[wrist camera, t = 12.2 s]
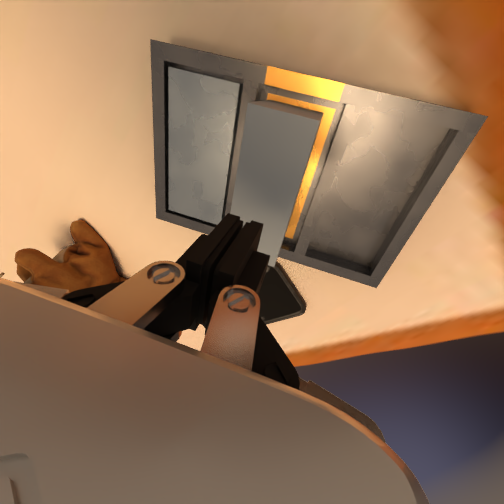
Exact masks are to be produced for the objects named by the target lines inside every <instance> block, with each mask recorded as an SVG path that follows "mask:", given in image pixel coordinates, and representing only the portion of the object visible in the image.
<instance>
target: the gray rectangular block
mask: <svg viewBox="0 0 504 504" xmlns="http://www.w3.org/2000/svg"><path fill="white" fill-rule="evenodd" d="M323 114H324V113H323V112H318V111H314V110H310V109H306V108H302V107H298V106H294V105H290V104H286V103H282V102H278V101H274V100H264V101H256V102H249V103H248V105H247V111H246V117H245V124H244V130H243V136H242V143H241V149H240V155H239V161H238V168H237V174H236V180H235V187H234V193H233V199H232V206H231V212H230V214H233V215H236V216H240V220H242V221H243V226H244V225H245V223H246V222H249V223H250V222H251V221H252V220H253V221H256V222H259V223H263V229H262V233H261V238H260V242H259V246H258V250H257V251H258V252H261V253H264V254H267V255H270V259H269V263H268V265H269V266H272V267H274V266H275V263H276V260H277V257H278V255H279V252H280V249H281V246H282V243H283V240H284V237H285V234H286V231H287V228H288V225H289V221H290V218H291V215H292V212H293V209H294V206H295V202H296V199H297V196H298V193H299V190H300V187H301V183H302V180H303V177H304V174H305V171H306V168H307V164H308V161H309V158H310V155H311V152H312V149H313V145H314V142H315V139H316V136H317V133H318V129H319V126H320V123H321V120H322V117H323Z"/></svg>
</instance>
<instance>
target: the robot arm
mask: <svg viewBox="0 0 504 504" xmlns="http://www.w3.org/2000/svg"><path fill="white" fill-rule="evenodd" d="M262 229H263V223H259V222H256V221H253V220H252V221H251V222H250V223H249V222H246V223H245V225H244V226H243V221H242V220H240V216H236V215H233V214H230V213H228V214H227V215H226V216H225V217H224V218H223V219H222V220H221V221H220V223H219V224H218V225H217V226H216V227H215V228H214V229H213V231H212V232H211V233H210V234H209V235H205V234H202V235H201V236H200V237H199V238H198V239H197V240H196V241H195V242H194V243H193V244H192V245H191V246H190V247H189V248H188V250H187V251H186V252H185V253H184V254H183V255H182V256H181V257H180V258H179V259H178V260H177V261H176V262H172V261H158V262H154V263H152V264H150V265H148V266H146V267H145V268H143V269H142V270H140V271H139V272H138V273H136V274H135V275H133V276H132V277H130V278H129V279H128V280H126V281H122V282H116V283H111V284H106V285H100V286H95V287H89V288H84V289H79V290H76V291H73V292H71V293H69V290H66V289H60V288H53V287H47V286H40V285H33V284H27V283H20V282H13V281H10V280H6V279H3V278H0V504H429V501H428V499H427V497H426V495H425V493H424V491H423V489H422V487H421V485H420V484H419V482H418V480H417V479H416V477H415V476H414V474H413V473H412V471H411V470H410V469H409V468H408V466H407V465H406V464H405V463H404V461H403V460H402V459H401V458H400V457H399V456H398V455H397V454H396V453H395V452H394V451H393V450H392V449H391V448H390V447H389V446H388V445H387V444H386V443H385V439H384V437H383V435H382V432H381V430H380V429H379V428H378V426H377V425H376V423H375V422H374V421H372V419H370V418H369V417H368V416H367V415H365V414H363V413H362V412H360V411H359V410H357V409H355V408H354V407H352V406H351V405H349V404H348V403H346V402H344V401H343V400H341V399H339V398H337V397H336V396H335V395H333V394H331V393H330V392H328V391H327V390H325V389H323V388H322V387H320V386H319V385H317V384H315V383H314V382H312V381H310V380H309V381H308V382H306V381H304V380H303V379H301V378H300V377H299V376H298V374H297V371H296V369H295V368H294V366H293V365H292V363H291V362H290V360H289V359H288V357H287V356H286V354H285V353H284V351H283V350H282V348H281V347H280V345H279V344H278V342H277V341H276V339H275V338H274V336H273V335H272V333H271V332H270V330H269V329H268V327H267V326H266V324H265V323H264V321H263V320H262V319H261V317H260V316H259V310H260V299H259V297H258V293H259V290H260V288H261V285H262V282H263V279H264V276H265V273H266V270H267V266H268V263H269V259H270V255H267V254H264V253H261V252H258V251H257V250H258V246H259V242H260V238H261V233H262ZM206 320H207V322H206ZM205 322H206V329H205V339H204V342H203V345H202V348H201V351H198V350H195V349H193V348H190V347H188V346H185V345H182V344H180V343H177V342H176V341H177V340H178V339H179V337H180V336H181V334H182V331H183V330H186V329H192V330H194V331H196V329H197V327H198V325H199V324H202V325H203V324H204V323H205Z"/></svg>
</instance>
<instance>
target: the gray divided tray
mask: <svg viewBox="0 0 504 504" xmlns="http://www.w3.org/2000/svg"><path fill="white" fill-rule="evenodd" d="M150 40H151V70H152V101H153V131H154V162H155V192H156V218H158V219H161V220H164V221H167V222H170V223H173V224H177V225H180V226H183V227H186V228H189V229H192V230H196V231H199V232H202V233H205V234H208V235H209V234H210V233H211V232H212V231H213V229H214V228H215V227H216V226H217V225H218V224H219V223H220V221H221V220H222V219H223V218H224V217H225V216H226V215H227V214H228V213H230V212H231V206H232V199H233V193H234V187H235V180H236V174H237V168H238V161H239V155H240V149H241V143H242V136H243V130H244V124H245V117H246V111H247V105H248V103H249V102H256V101H264V100H274V101H278V102H282V103H286V104H290V105H294V106H298V107H302V108H306V109H310V110H314V111H318V112H323V113H324V114H323V117H322V120H321V123H320V126H319V129H318V133H317V136H316V139H315V142H314V145H313V149H312V152H311V155H310V158H309V161H308V164H307V168H306V171H305V174H304V177H303V180H302V183H301V187H300V190H299V193H298V196H297V199H296V202H295V206H294V209H293V212H292V215H291V218H290V221H289V225H288V228H287V231H286V234H285V237H284V240H283V243H282V246H281V249H280V252H279V255H278V257H281V258H284V259H287V260H290V261H293V262H296V263H299V264H303V265H306V266H309V267H312V268H315V269H318V270H321V271H325V272H328V273H331V274H334V275H337V276H340V277H344V278H347V279H350V280H353V281H356V282H359V283H362V284H366V285H369V286H372V287H375V288H377V286H378V285H379V283H380V282H381V280H382V279H383V277H384V276H385V274H386V273H387V271H388V270H389V268H390V266H391V265H392V263H393V262H394V260H395V259H396V257H397V256H398V254H399V253H400V251H401V250H402V248H403V246H404V245H405V243H406V242H407V240H408V239H409V237H410V236H411V234H412V233H413V231H414V230H415V228H416V226H417V225H418V223H419V222H420V220H421V219H422V217H423V216H424V214H425V213H426V211H427V210H428V208H429V206H430V205H431V203H432V202H433V200H434V199H435V197H436V196H437V194H438V193H439V191H440V190H441V188H442V186H443V185H444V183H445V182H446V180H447V179H448V177H449V176H450V174H451V173H452V171H453V170H454V168H455V166H456V165H457V163H458V162H459V160H460V159H461V157H462V156H463V154H464V153H465V151H466V150H467V148H468V146H469V145H470V143H471V142H472V140H473V139H474V137H475V136H476V134H477V133H478V131H479V129H480V128H481V126H482V125H483V123H484V122H485V120H486V119H487V117H488V116H484V115H479V114H475V113H471V112H466V111H462V110H457V109H453V108H449V107H444V106H440V105H436V104H431V103H427V102H422V101H418V100H414V99H409V98H405V97H401V96H396V95H392V94H388V93H383V92H379V91H374V90H370V89H366V88H361V87H357V86H353V85H348V84H344V83H340V82H336V81H331V80H327V79H323V78H318V77H314V76H309V75H305V74H301V73H296V72H292V71H288V70H283V69H279V68H275V67H270V66H265V65H261V64H256V63H252V62H248V61H243V60H239V59H235V58H230V57H226V56H221V55H217V54H213V53H208V52H204V51H200V50H195V49H191V48H186V47H182V46H178V45H173V44H169V43H165V42H160V41H156V40H152V39H150Z"/></svg>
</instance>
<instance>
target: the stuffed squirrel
mask: <svg viewBox="0 0 504 504" xmlns="http://www.w3.org/2000/svg"><path fill="white" fill-rule="evenodd" d="M70 231H71V235H72V237H73V239H74V241H75V244H74V245H71V246H68V247H66V248H65V249H63V250H62V251H61V252H59V253H58V254H57V255H56V256H55V257H54V258H53V259H51V258H50V257H48V256H47V255H45V254H43V253H42V252H40V251H39V250H36V249H30V248H27V249H22V250H19V251H17V252H16V254H15V262H16V263H17V274H18V276H19V277H20V278H21V279H22V280H23V281H24V283H27V284H33V285H40V286H47V287H53V288H60V289H66V290H69V293H71V292H73V291H76V290H79V289H84V288H89V287H95V286H100V285H106V284H111V283H116V282H122V281H126V280H127V279H126V278H124V277H121V276H119V275H118V273H117V272H116V269H115V265H114V262H113V258H112V256H111V253H110V250H109V248H108V246H107V244H106V243H105V242H104V240H103V239H102V238H101V237H100V236H99V235H98V234H97V233H96V232H95V231H94V230H93V229H92V228H91V227H90V226H89V225H88V224H87V223H86V222H85V221H83V220H78V221H74V222H72V224H71V227H70ZM3 275H4V273H1V274H0V278H1V277H2V276H3Z"/></svg>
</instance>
